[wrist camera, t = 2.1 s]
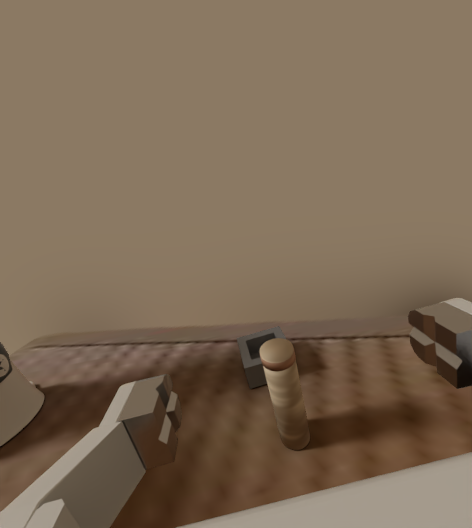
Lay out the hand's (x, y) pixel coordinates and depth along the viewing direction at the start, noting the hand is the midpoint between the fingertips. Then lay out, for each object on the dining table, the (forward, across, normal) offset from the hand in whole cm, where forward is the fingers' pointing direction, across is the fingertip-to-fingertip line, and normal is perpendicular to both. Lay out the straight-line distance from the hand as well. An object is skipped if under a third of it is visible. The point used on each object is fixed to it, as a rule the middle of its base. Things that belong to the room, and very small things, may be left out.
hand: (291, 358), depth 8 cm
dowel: (+17, 0, -24) cm, 29 cm away
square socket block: (+30, 0, -24) cm, 38 cm away
